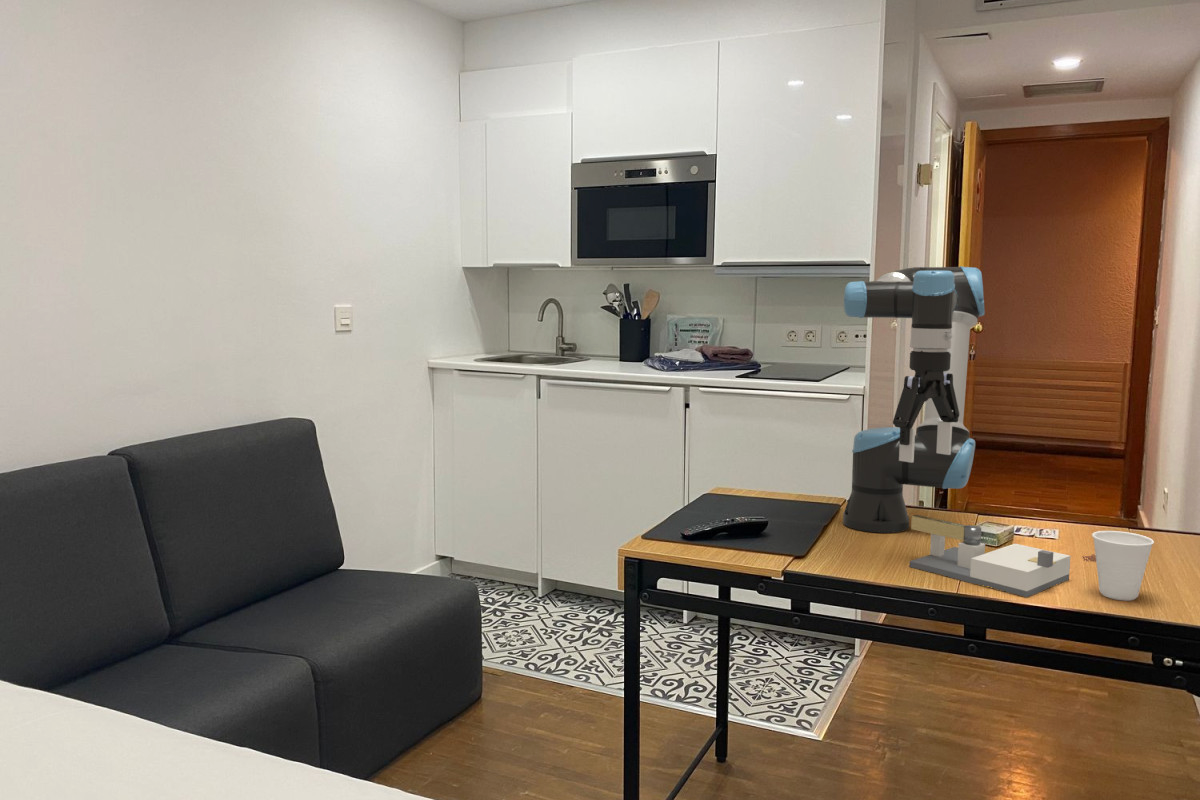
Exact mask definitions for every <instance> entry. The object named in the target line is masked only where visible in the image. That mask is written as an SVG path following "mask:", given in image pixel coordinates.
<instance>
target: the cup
mask: <svg viewBox="0 0 1200 800" xmlns="http://www.w3.org/2000/svg"><path fill="white" fill-rule="evenodd" d="M1091 536H1092V538H1093V545H1094V553H1095V554H1094V555H1096V562H1095V563H1096V571H1097V576H1098V577H1097V578H1098V589H1099V593H1100V594H1101V595H1102V596H1103V597H1105V598H1109V599H1110V600H1117V601H1124V602H1125V601H1126V602H1127V601H1129V602H1130V601H1134V600H1136V599H1137V598H1139V594H1140V590H1141V586H1142V583H1143V579H1144V575H1145V572H1146V571H1145V570H1146V568H1147V564H1148V561H1149V559H1150V555H1151V551H1152V546H1153V545H1154V543H1155V541H1154V540H1153V539H1152V538H1151V537H1148V536H1145V535H1142V534H1139V533H1135V532H1134V533H1133V532H1128V531H1122V530H1098V531H1095V532H1093V533H1092V534H1091Z"/></svg>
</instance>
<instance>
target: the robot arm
mask: <svg viewBox="0 0 1200 800" xmlns="http://www.w3.org/2000/svg"><path fill="white" fill-rule="evenodd" d="M982 274H983V273H982V271H981V270H980V269H979V268H977V267H974V266H973V267H970V266H961V265H960V266H945V267H944V266H941V267H940V266H937V267H936V266H933V267H932V266H931V267H930V266H929V267H927V266H924V267H923V266H916V267H908V268H902V269H898V270H895V271H891V272H888V273H885V274H883V275H881V276H880V277H879V278H878V279H876V280H871V281H863V280H859V281H850V282H848V283H847V284H846V285H845V288H844V293H843V294H844V295H843V310H844V314H845V315H846V316H848V317H850V318H859V319H865V318H867V319H869V318H870V319H871V318H874V319H875V318H877V319H878V318H883V319H884V318H887V319H888V318H889V319H891V318H896V319H911V327H910V342H909V343H910V344H909V345H910V346H909V347H910V348H911V349H912V351H910V353H909V369H910V370H911V371H914V376H913V375H912V376H911V375H910V376H909V375H905V376H904V381H903V389H902V392H901V394H900V397H899V402H898V403H897V407H896V410H895V414H894V417H893V419H892V424H893V425H894V426H893V427H888V426H887V427H878V428H875V427H874V428H869V429H864V430H861V431H859V432H857V433H856V434H855V435H854V439H853V447H852V448H853V449H851V450H852V451H851V452H852V472H851V473H852V476H851V493H850V495H849V498H848V500H847V503H846V506H845V508H844V511H843V515H842V524H843V525H844V526H846V527H848V528H850V529H852V530H853V529H854V530H858V531H863V532H867V533H868V532H870V533H879V534H880V533H881V534H883V533H884V534H885V533H886V534H888V533H889V534H891V533H900V532H904V531H907V530H908V529H909V527H910V517H909V514H908V509H907V507H906V503H905V499H904V495H903V493H904V492H903V491H904V489H903V488H904V485H908V486H917V487H929V488H930V487H931V488H941V489H943V490H946V489H957V490H958V489H963V488H964V487H966V485H967V484H968V481H969V478H970V476H971V471H972V466H973V461H974V458H975V457H974V455H975V450H976V441H975V439H973V438H971V437H970V430H969V429H968V428H967V427H966V426H965V425H964V417H965V416H964V415H965V414H964V413H965V404H966V403H965V402H966V390H967V386H966V385H967V376H968V375H967V373H968V360H969V350H970V349H969V347H970V346H969V345H970V335H971V329H972V328H973V327H975V326H976V325H977V324H978V319H979V317H982V316H985V312H986V311H985V300H984V299H985V297H984V284H983V275H982ZM924 405H925V406H924ZM923 406H924V416H923V421H922V422H921V423H920V424H919V425H917V427H916V428H914V427H913V426H914V425H915V422H916V421H917V418H918V416H919V415H920V412H921V411H922V408H923Z"/></svg>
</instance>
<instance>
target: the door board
mask: <svg viewBox="0 0 1200 800" xmlns="http://www.w3.org/2000/svg"><path fill="white" fill-rule="evenodd" d="M945 544H946V537H944V536H940V535H935V534H931V533H930V546H929V547H930V550H929V552H930V553H929V554H928V555H925V556H921V557H919V558H915V559H912V560H909V566H908V567H909V568H912V569H917V570H919V569H921V570H920V571H923V570H924V571H923V572H927V571H928V573H931V572H934V573H933V574H935V573H937V574H936V575H938V574H941V575H940V576H942V575H944V576H943V577H946V576H948V577H947V578H951V579H954V578H955V579H954V580H957V579H959V580H958V581H961V580H962V581H961V582H965V583H969V584H973V583H974V585H976V584H979V585H978V586H980V585H984V586H989V587H992V588H995V589H998V590H997V591H999V590H1002V591H1001V592H1003V591H1006V592H1005V593H1007V592H1009V593H1008V594H1011V593H1013V594H1012V595H1014V594H1017V595H1016V596H1018V595H1020V596H1019V597H1022V596H1024V597H1023V598H1026V597H1027V598H1029V597H1032V596H1034V595H1036V594H1038V592H1039V593H1041V592H1044V591H1045V589H1046V590H1048V589H1050V588H1049V587H1051V586H1053V587H1055V586H1057V585H1056V584H1058V585H1059V583H1060V584H1062V583H1065V582H1067V581H1069V580H1070V569H1071V555H1068V554H1065V553H1060V552H1055V551H1050V550H1047V549H1042V548H1037V547H1033V546H1029V545H1028V546H1027V545H1024V544H1020V543H1019V544H1018V543H1013V544H1010V545H1007V546H1004V547H1000V548H998V549H994V550H991V551H989V552H986V544H985V543H982V542H981V543H980V544H968V543H965V542H963V541H961V542H958V546H953V547H949V548H947V549H945V548H946V547H945V546H946V545H945ZM1061 582H1062V583H1061ZM1054 585H1055V586H1054ZM984 586H983V587H984ZM992 588H991V589H992ZM1047 588H1048V589H1047ZM1051 588H1052V587H1051ZM995 589H994V590H995ZM1033 594H1034V595H1033ZM1031 595H1032V596H1031Z"/></svg>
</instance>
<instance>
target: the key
mask: <svg viewBox="0 0 1200 800" xmlns="http://www.w3.org/2000/svg"><path fill="white" fill-rule="evenodd" d="M1082 557H1083V558H1082ZM1082 557H1081V558H1082V559H1084V560H1083V561H1085V560H1086V561H1085V562H1094V561H1095V563H1096V555H1095V554H1091V555H1082ZM1085 558H1086V559H1085ZM1087 558H1088V559H1087ZM1089 560H1090V561H1089Z"/></svg>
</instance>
